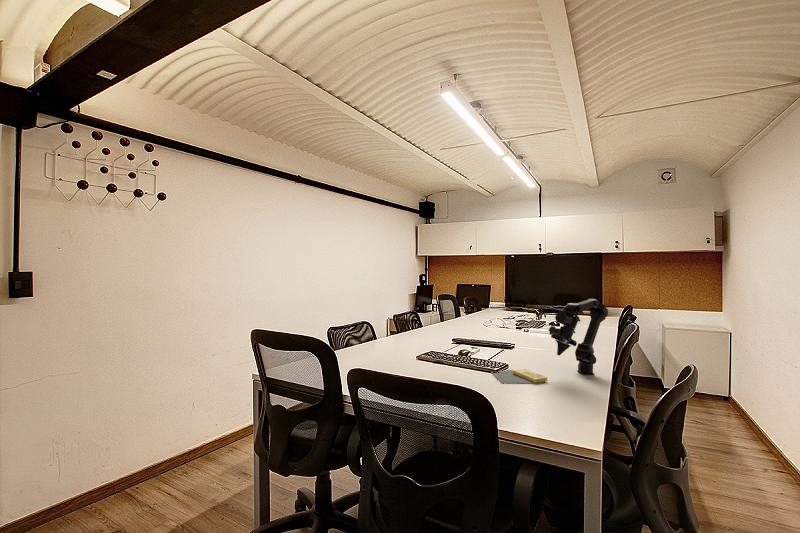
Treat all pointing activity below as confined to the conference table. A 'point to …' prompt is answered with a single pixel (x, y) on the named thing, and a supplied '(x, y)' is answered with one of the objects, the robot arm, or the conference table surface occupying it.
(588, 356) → the robot arm
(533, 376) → the candy box
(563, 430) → the conference table surface
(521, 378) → the mat
